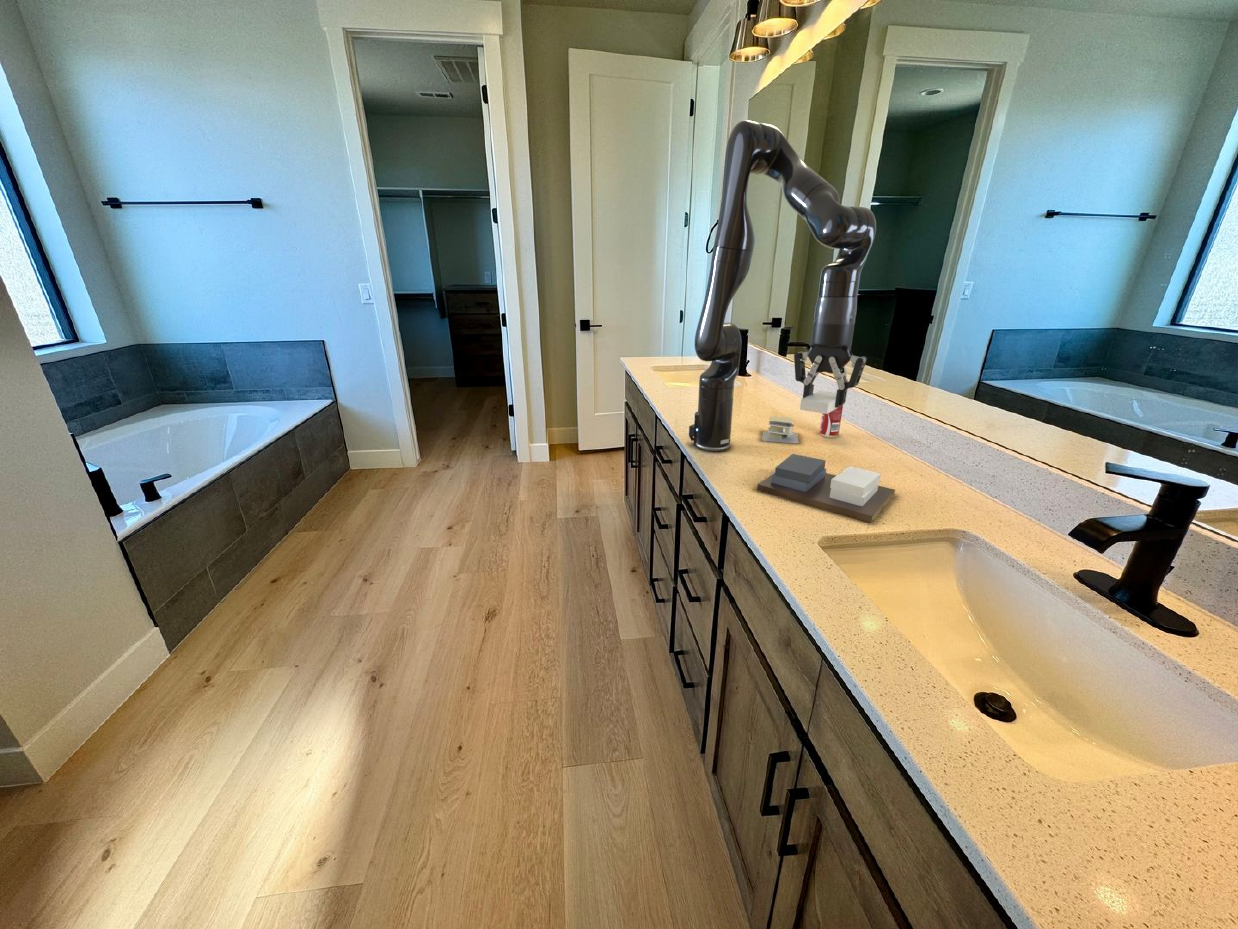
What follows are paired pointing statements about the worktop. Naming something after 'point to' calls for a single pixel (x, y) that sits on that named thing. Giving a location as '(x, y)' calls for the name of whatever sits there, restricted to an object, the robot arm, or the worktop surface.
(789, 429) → the stacked layers on plate
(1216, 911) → the worktop surface
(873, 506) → the walnut board
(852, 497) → the white books
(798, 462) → the grey books
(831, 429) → the soda can
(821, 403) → the frosted white slab
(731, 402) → the robot arm
